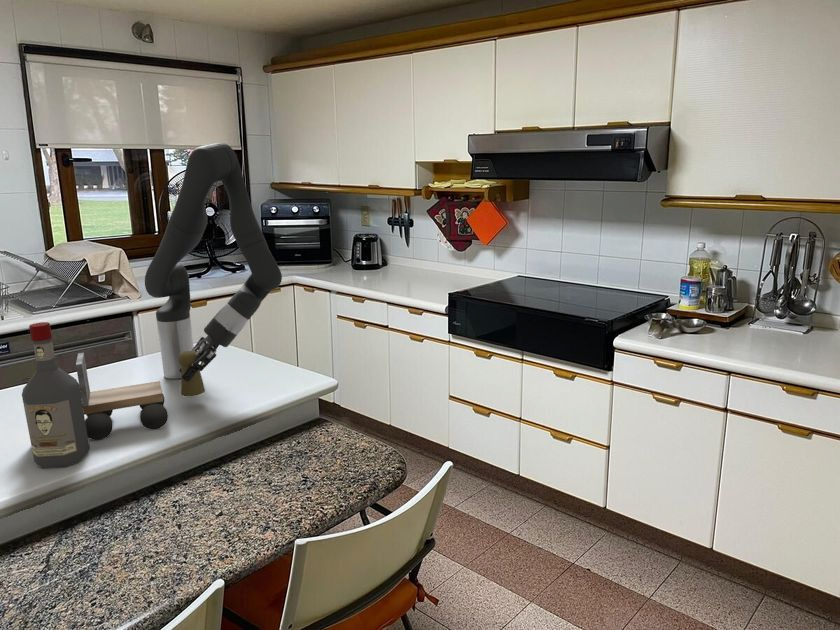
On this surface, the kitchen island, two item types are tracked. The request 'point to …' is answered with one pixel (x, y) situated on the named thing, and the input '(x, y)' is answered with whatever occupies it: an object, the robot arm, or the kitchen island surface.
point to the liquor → (53, 407)
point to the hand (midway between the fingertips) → (183, 376)
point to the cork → (195, 383)
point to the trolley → (119, 403)
